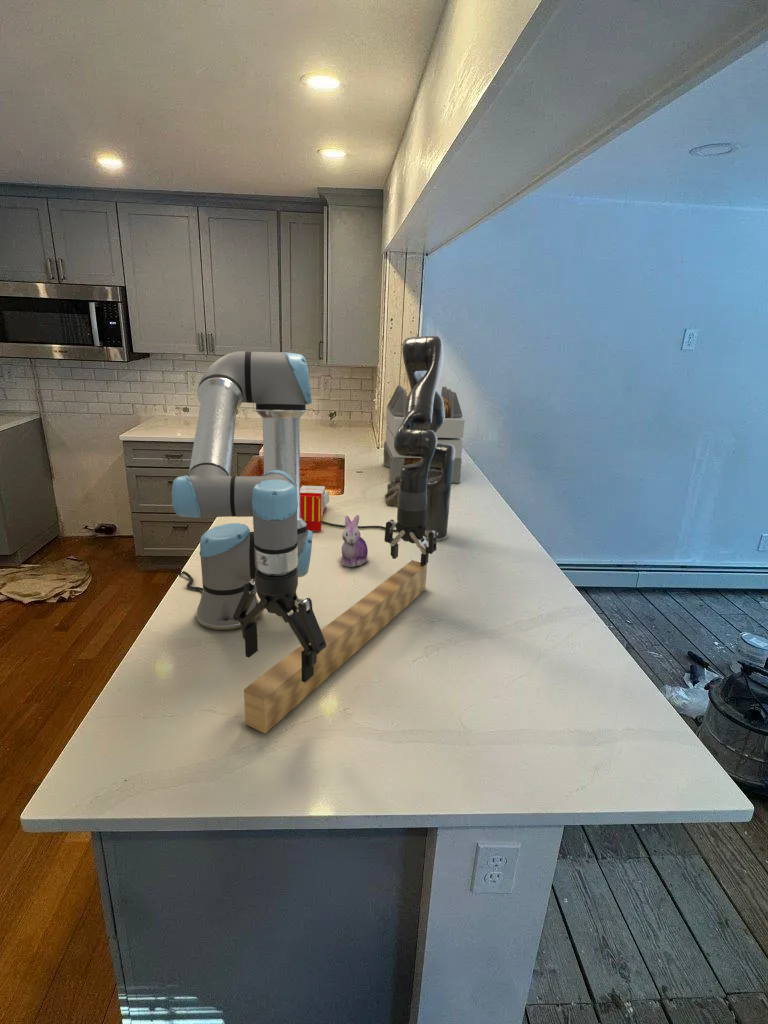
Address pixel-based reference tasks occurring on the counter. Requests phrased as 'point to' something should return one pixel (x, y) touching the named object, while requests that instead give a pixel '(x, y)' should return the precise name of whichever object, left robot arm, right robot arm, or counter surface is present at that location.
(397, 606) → the post
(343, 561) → the figurine
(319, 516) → the toy
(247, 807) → the counter surface
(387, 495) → the fossil
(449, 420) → the transformer
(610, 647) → the counter surface
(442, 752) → the counter surface
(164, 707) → the counter surface
